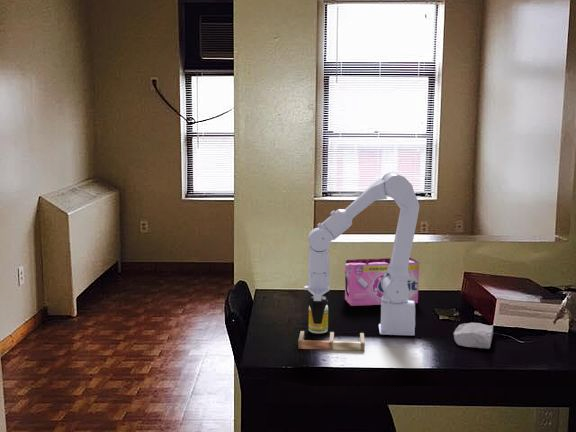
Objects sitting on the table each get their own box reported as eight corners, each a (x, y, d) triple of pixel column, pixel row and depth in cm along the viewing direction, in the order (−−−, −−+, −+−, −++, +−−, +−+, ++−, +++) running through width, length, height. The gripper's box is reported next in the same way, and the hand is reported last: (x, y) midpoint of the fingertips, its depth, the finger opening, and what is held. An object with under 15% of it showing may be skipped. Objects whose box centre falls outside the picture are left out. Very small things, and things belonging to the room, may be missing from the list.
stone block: (454, 352, 167) (493, 349, 164) (451, 334, 167) (490, 331, 164) (458, 339, 179) (495, 336, 175) (455, 322, 178) (492, 319, 175)
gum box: (346, 306, 201) (347, 264, 199) (340, 299, 209) (341, 259, 207) (418, 303, 205) (420, 262, 203) (409, 296, 213) (411, 257, 211)
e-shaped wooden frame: (363, 340, 171) (363, 333, 170) (364, 350, 163) (364, 343, 163) (300, 338, 172) (300, 330, 172) (298, 348, 164) (298, 341, 164)
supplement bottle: (326, 334, 175) (326, 300, 174) (307, 333, 176) (307, 299, 175) (329, 328, 180) (329, 295, 179) (310, 327, 181) (310, 294, 180)
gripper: (306, 265, 183) (305, 310, 185) (302, 277, 169) (302, 326, 171) (330, 265, 183) (330, 311, 185) (329, 278, 168) (328, 327, 170)
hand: (318, 319), depth 178 cm, fingers open, 7 cm apart
